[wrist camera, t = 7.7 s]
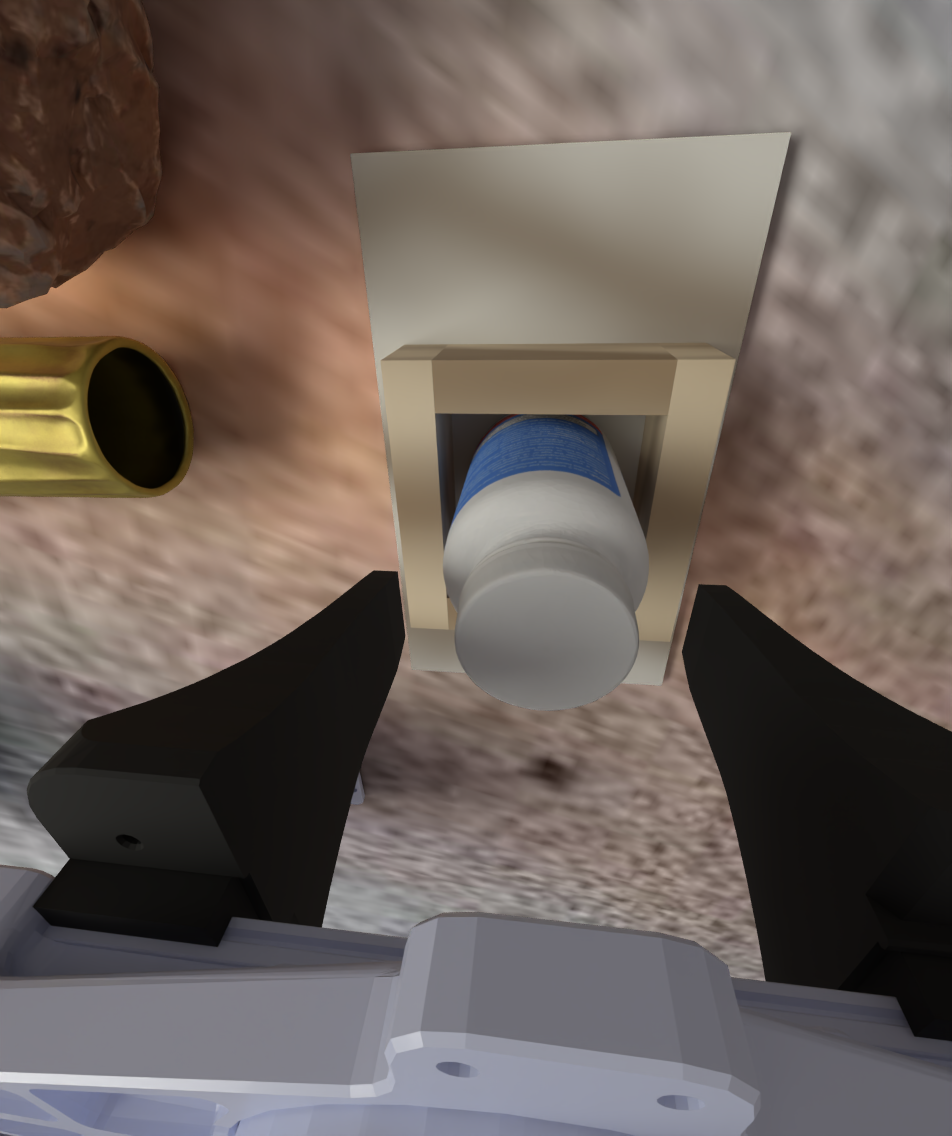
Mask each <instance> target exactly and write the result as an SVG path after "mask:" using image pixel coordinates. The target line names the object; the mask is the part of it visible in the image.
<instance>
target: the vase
mask: <svg viewBox="0 0 952 1136" xmlns="http://www.w3.org/2000/svg"><path fill="white" fill-rule="evenodd" d="M192 454H193V424H192V418H191V414H190V410H189V406H188V403H187V400H186V397H185V395H184V392H183V390H182V387H181V385H180V383H179V382H178V380H177V378H176V376H175V374H174V373H173V372H172V370H171V369H170V367H169V366H168V365H167V363H166V362H165V361H164V360H163V359H162V358H161V357H160V356H159V355H158V354H157V353H156V352H155V351H154V350H152V349H151V348H149V347H148V346H146V345H145V344H143V343H141V342H139V341H136V340H133V339H130V338H126V337H120V336H99V337H32V338H0V496H28V497H99V498H148V497H156V496H160V495H164V494H166V493H168V492H169V491H170V490H172V489H173V488H175V487H176V486H177V485H178V484H179V483H180V482H181V481H182V480H183V478H184V477H185V475H186V473H187V471H188V468H189V465H190V463H191V459H192Z"/></svg>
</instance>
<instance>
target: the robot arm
mask: <svg viewBox="0 0 952 1136" xmlns="http://www.w3.org/2000/svg"><path fill="white" fill-rule="evenodd" d="M404 640H405V629H404V621H403V612H402V604H401V596H400V588H399V579H398V572H396V571H373V572H371V573H370V574H368V575H367V576H366V577H364V578H363V579H362V580H361V581H359V582H358V583H357V584H356V585H354V586H353V587H352V588H351V589H349V590H348V591H347V592H345V593H344V594H343V595H342V596H340V597H339V598H338V599H336V600H335V601H334V602H333V603H331V604H330V605H329V606H327V607H326V608H325V609H324V610H322V611H321V612H320V613H318V614H317V615H315V616H314V617H312V618H311V619H309V620H308V621H307V622H305V623H304V624H302V625H301V626H299V627H298V628H297V629H295V630H294V631H292V632H291V633H289V634H288V635H286V636H285V637H283V638H282V639H280V640H278V641H277V642H275V643H273V644H272V645H270V646H268V647H266V648H265V649H263V650H261V651H259V652H258V653H256V654H254V655H252V656H250V657H249V658H247V659H245V660H243V661H241V662H239V663H237V664H234V665H232V666H230V667H228V668H226V669H224V670H222V671H220V672H218V673H216V674H214V675H212V676H210V677H208V678H205V679H203V680H201V681H198V682H196V683H194V684H191V685H189V686H186V687H184V688H182V689H179V690H176V691H174V692H171V693H169V694H166V695H163V696H161V697H158V698H155V699H152V700H150V701H147V702H144V703H141V704H138V705H135V706H132V707H129V708H126V709H122V710H119V711H116V712H113V713H110V714H107V715H104V716H101V717H97V718H94V719H91V720H88V721H87V722H86V723H85V724H84V725H83V726H82V727H81V728H80V729H79V730H78V731H77V732H76V733H75V734H74V735H73V736H72V737H71V738H70V739H69V740H68V741H67V742H66V743H65V744H64V745H63V746H62V747H61V748H60V749H59V750H58V751H57V752H56V753H55V754H54V756H53V757H52V758H51V759H50V760H49V761H48V762H47V763H46V764H45V765H44V766H43V767H42V768H41V769H40V770H39V771H38V772H37V773H36V774H35V775H34V776H33V777H32V778H31V779H30V782H29V785H28V787H27V795H28V800H29V805H30V807H31V809H32V811H33V812H34V814H35V815H36V817H37V818H38V820H39V821H40V822H41V823H42V825H43V826H44V827H45V828H46V830H47V831H48V832H49V833H50V835H51V836H52V837H53V838H54V840H55V841H56V842H57V843H58V845H59V846H60V847H61V848H62V850H63V851H64V852H65V853H66V855H67V856H68V857H69V858H70V859H69V861H68V862H67V863H66V864H65V866H64V867H63V868H62V870H61V871H60V872H59V873H58V875H57V876H56V877H53V876H52V875H50V874H48V873H46V872H44V871H41V870H37V869H33V868H24V867H16V866H7V865H0V1136H952V732H951V731H949V730H947V729H945V728H943V727H941V726H939V725H937V724H935V723H933V722H931V721H929V720H927V719H925V718H923V717H921V716H919V715H917V714H915V713H913V712H911V711H909V710H908V709H906V708H904V707H902V706H900V705H898V704H897V703H895V702H893V701H891V700H889V699H888V698H886V697H884V696H882V695H881V694H879V693H877V692H876V691H874V690H872V689H871V688H869V687H867V686H866V685H864V684H862V683H860V682H859V681H857V680H855V679H854V678H852V677H851V676H849V675H847V674H846V673H844V672H843V671H841V670H840V669H838V668H837V667H835V666H834V665H832V664H831V663H829V662H828V661H826V660H825V659H824V658H822V657H821V656H819V655H818V654H816V653H815V652H813V651H812V650H811V649H809V648H808V647H806V646H805V645H804V644H802V643H801V642H800V641H798V640H797V639H795V638H794V637H793V636H791V635H790V634H789V633H788V632H786V631H785V630H784V629H782V628H781V627H780V626H778V625H777V624H776V623H775V622H773V621H772V620H771V619H769V618H768V617H767V616H766V615H764V614H763V613H762V612H761V611H759V610H758V609H757V608H756V607H754V606H753V605H752V604H750V603H749V602H748V601H747V600H745V599H744V598H743V597H742V596H740V595H739V594H738V593H736V592H735V591H734V590H732V589H731V588H729V587H728V586H726V585H703V584H699V586H698V590H697V594H696V598H695V602H694V606H693V610H692V614H691V618H690V622H689V626H688V630H687V634H686V637H685V641H684V645H683V649H682V655H683V660H684V665H685V670H686V675H687V679H688V684H689V688H690V692H691V694H692V697H693V700H694V703H695V706H696V709H697V711H698V714H699V717H700V720H701V722H702V725H703V728H704V731H705V733H706V736H707V739H708V741H709V744H710V747H711V750H712V752H713V755H714V758H715V760H716V763H717V766H718V769H719V771H720V774H721V777H722V781H723V784H724V787H725V790H726V793H727V797H728V801H729V805H730V809H731V813H732V817H733V821H734V825H735V830H736V834H737V838H738V842H739V847H740V851H741V856H742V860H743V865H744V869H745V874H746V878H747V883H748V888H749V893H750V898H751V903H752V908H753V913H754V918H755V923H756V928H757V933H758V939H759V945H760V950H761V956H762V962H763V968H764V974H765V980H766V981H758V980H750V979H742V978H734V977H730V973H729V969H728V965H726V964H725V963H724V962H723V961H721V960H720V959H719V958H718V957H716V956H715V955H713V954H712V953H711V952H709V951H708V950H706V949H705V948H703V947H702V946H701V945H699V944H698V943H696V942H695V941H691V940H687V939H683V938H679V937H675V936H671V935H667V934H663V933H659V932H651V931H642V930H633V929H624V928H615V927H607V926H598V925H589V924H580V923H571V922H563V921H554V920H545V919H536V918H528V917H519V916H510V915H501V914H492V913H484V912H450V913H442V914H439V915H437V916H434V917H432V918H429V919H427V920H424V921H422V922H420V923H419V924H417V925H416V926H414V927H413V928H412V930H411V932H410V935H409V937H408V938H404V937H395V936H387V935H379V934H371V933H362V932H354V931H346V930H338V929H329V928H322V923H323V919H324V914H325V909H326V905H327V900H328V895H329V890H330V886H331V882H332V877H333V873H334V869H335V865H336V860H337V856H338V852H339V847H340V843H341V839H342V835H343V831H344V827H345V823H346V820H347V816H348V812H349V808H350V804H361V803H363V801H364V798H365V794H364V789H363V785H362V780H361V776H360V767H361V764H362V761H363V758H364V755H365V752H366V749H367V746H368V744H369V741H370V738H371V736H372V733H373V731H374V728H375V726H376V723H377V721H378V718H379V716H380V713H381V711H382V708H383V706H384V703H385V701H386V698H387V696H388V693H389V690H390V688H391V685H392V683H393V680H394V677H395V675H396V672H397V669H398V665H399V661H400V657H401V653H402V649H403V644H404Z"/></svg>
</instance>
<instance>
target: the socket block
mask: <svg viewBox="0 0 952 1136" xmlns="http://www.w3.org/2000/svg"><path fill="white" fill-rule="evenodd" d="M790 136H791V132H783V133H762V134H742V135H721V136H701V137H680V138H660V139H639V140H619V141H598V142H578V143H557V144H537V145H516V146H496V147H475V148H455V149H434V150H414V151H393V152H373V153H352V154H350V156H351V164H352V172H353V181H354V189H355V198H356V206H357V214H358V223H359V231H360V239H361V248H362V256H363V265H364V273H365V281H366V290H367V298H368V307H369V315H370V323H371V332H372V340H373V349H374V357H375V365H376V374H377V382H378V391H379V399H380V407H381V416H382V424H383V433H384V441H385V449H386V458H387V466H388V475H389V483H390V491H391V500H392V508H393V517H394V525H395V533H396V542H397V550H398V559H399V567H400V575H401V584H402V592H403V601H404V609H405V617H406V626H407V634H408V643H409V651H410V659H411V668H412V670H425V671H441V672H456V673H466V672H465V671H464V669H463V668H462V666H461V664H460V661H459V659H458V656H457V653H456V648H455V640H454V635H455V625H456V619H457V614H458V613H457V612H456V610H455V608H454V606H453V605H452V603H451V601H450V598H449V596H448V593H447V589H446V585H445V580H444V575H443V556H444V550H445V545H446V541H447V537H448V533H449V530H450V527H451V524H452V521H453V518H454V514H455V511H456V508H457V505H458V502H459V499H460V496H461V493H462V489H463V486H464V483H465V480H466V477H467V473H468V470H469V467H470V463H471V460H472V457H473V454H474V452H475V450H476V448H477V446H478V444H479V442H480V440H481V439H482V437H483V436H484V435H485V433H486V432H487V431H488V430H489V429H490V428H491V427H492V426H493V425H494V424H495V423H496V422H497V421H499V420H500V419H501V418H503V417H504V416H506V415H508V414H567V415H585V416H586V417H588V418H589V419H590V420H592V421H593V422H594V423H595V424H596V425H597V426H598V427H599V428H600V429H601V430H602V431H603V433H604V434H605V435H606V437H607V439H608V440H609V442H610V444H611V446H612V449H613V451H614V452H615V455H616V458H617V461H618V464H619V467H620V470H621V473H622V475H623V478H624V481H625V484H626V487H627V490H628V492H629V495H630V498H631V501H632V503H633V506H634V509H635V512H636V514H637V517H638V520H639V522H640V525H641V528H642V531H643V534H644V537H645V540H646V544H647V549H648V553H649V574H648V582H647V586H646V590H645V593H644V596H643V598H642V601H641V603H640V605H639V607H638V608H637V610H636V612H635V615H636V619H637V625H638V630H639V649H638V653H637V658H636V660H635V663H634V665H633V667H632V669H631V671H630V672H629V674H628V675H627V677H626V678H625V679H624V680H623V681H622V682H621V683H627V684H642V685H658V686H662V682H663V677H664V673H665V669H666V664H667V660H668V656H669V652H670V647H671V643H672V639H673V635H674V630H675V626H676V622H677V618H678V613H679V609H680V605H681V601H682V596H683V592H684V588H685V583H686V579H687V575H688V571H689V566H690V562H691V558H692V554H693V549H694V545H695V541H696V537H697V532H698V528H699V524H700V520H701V515H702V511H703V507H704V503H705V498H706V494H707V490H708V485H709V481H710V477H711V473H712V468H713V464H714V460H715V456H716V451H717V447H718V443H719V439H720V434H721V430H722V426H723V422H724V417H725V413H726V409H727V404H728V400H729V396H730V392H731V387H732V383H733V379H734V375H735V370H736V366H737V362H738V358H739V353H740V349H741V345H742V341H743V336H744V332H745V328H746V323H747V319H748V315H749V311H750V306H751V302H752V298H753V294H754V289H755V285H756V281H757V277H758V272H759V268H760V264H761V260H762V255H763V251H764V247H765V243H766V238H767V234H768V230H769V225H770V221H771V217H772V213H773V208H774V204H775V200H776V196H777V191H778V187H779V183H780V179H781V174H782V170H783V166H784V162H785V157H786V153H787V149H788V144H789V140H790Z"/></svg>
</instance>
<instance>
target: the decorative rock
mask: <svg viewBox="0 0 952 1136" xmlns="http://www.w3.org/2000/svg"><path fill="white" fill-rule="evenodd" d="M152 70H153V42H152V37H151V32H150V27H149V23H148V20H147V17H146V14H145V10H144V7H143V4H142V1H141V0H0V308H8V307H11V306H13V305H16V304H18V303H21V302H23V301H26V300H28V299H31V298H35V297H38V296H41V295H45V294H47V293H48V291H49V289H50V288H51V287H54V288H57V287H59V286H60V285H62V284H63V283H65V282H66V281H68V280H69V279H71V278H73V277H74V276H76V275H78V274H80V273H81V272H83V271H85V270H87V269H88V268H89V267H90V266H91V265H92V264H93V263H94V262H95V261H96V260H97V259H98V258H99V257H100V256H101V255H102V254H103V253H104V252H105V251H107V250H110V249H113V248H115V247H116V246H117V245H118V244H119V243H121V242H122V241H123V240H124V239H125V238H126V237H127V236H128V235H130V234H131V233H132V232H133V231H134V230H135V229H137V228H139V227H141V226H144V225H146V224H147V223H148V221H149V220H150V219H151V218H152V217H153V216H154V209H155V202H156V195H157V190H158V187H159V184H160V180H161V176H162V166H161V158H160V150H159V135H160V123H159V114H158V95H159V85H158V83H157V81H156V79H155V77H154V75H153V74H152Z"/></svg>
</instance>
